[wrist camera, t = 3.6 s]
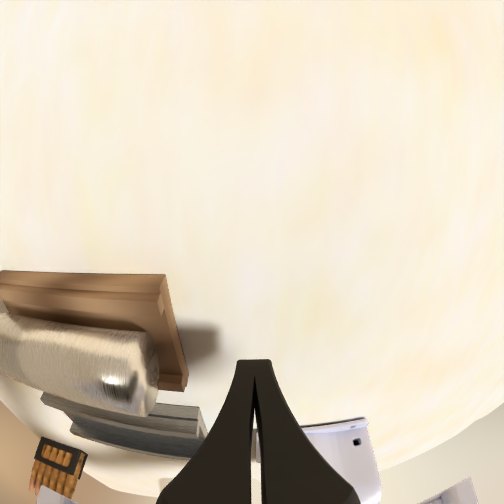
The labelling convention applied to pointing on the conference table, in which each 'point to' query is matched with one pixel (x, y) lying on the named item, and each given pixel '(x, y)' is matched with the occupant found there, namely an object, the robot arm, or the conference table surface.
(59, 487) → the ammunition clip
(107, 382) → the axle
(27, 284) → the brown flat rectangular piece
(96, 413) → the cradle
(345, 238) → the conference table surface
